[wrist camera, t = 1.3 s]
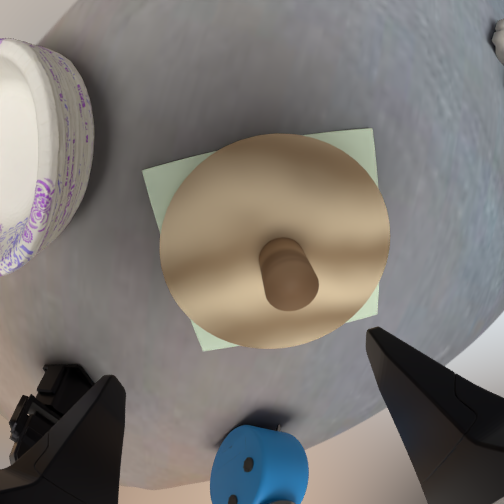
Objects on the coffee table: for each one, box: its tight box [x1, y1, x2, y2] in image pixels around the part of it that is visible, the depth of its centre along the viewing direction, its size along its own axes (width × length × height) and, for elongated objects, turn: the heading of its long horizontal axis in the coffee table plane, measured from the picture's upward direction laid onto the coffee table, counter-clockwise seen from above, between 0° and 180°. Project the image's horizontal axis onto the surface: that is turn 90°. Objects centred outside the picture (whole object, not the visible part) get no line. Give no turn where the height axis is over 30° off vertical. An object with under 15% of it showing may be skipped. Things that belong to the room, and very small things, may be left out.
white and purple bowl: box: [0, 38, 94, 276], centre depth 13 cm, size 15×15×8 cm
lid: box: [160, 133, 390, 349], centre depth 19 cm, size 17×17×5 cm
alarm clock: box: [210, 425, 309, 504], centre depth 25 cm, size 13×6×15 cm, turn 149°
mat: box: [142, 128, 379, 351], centre depth 21 cm, size 16×16×1 cm
